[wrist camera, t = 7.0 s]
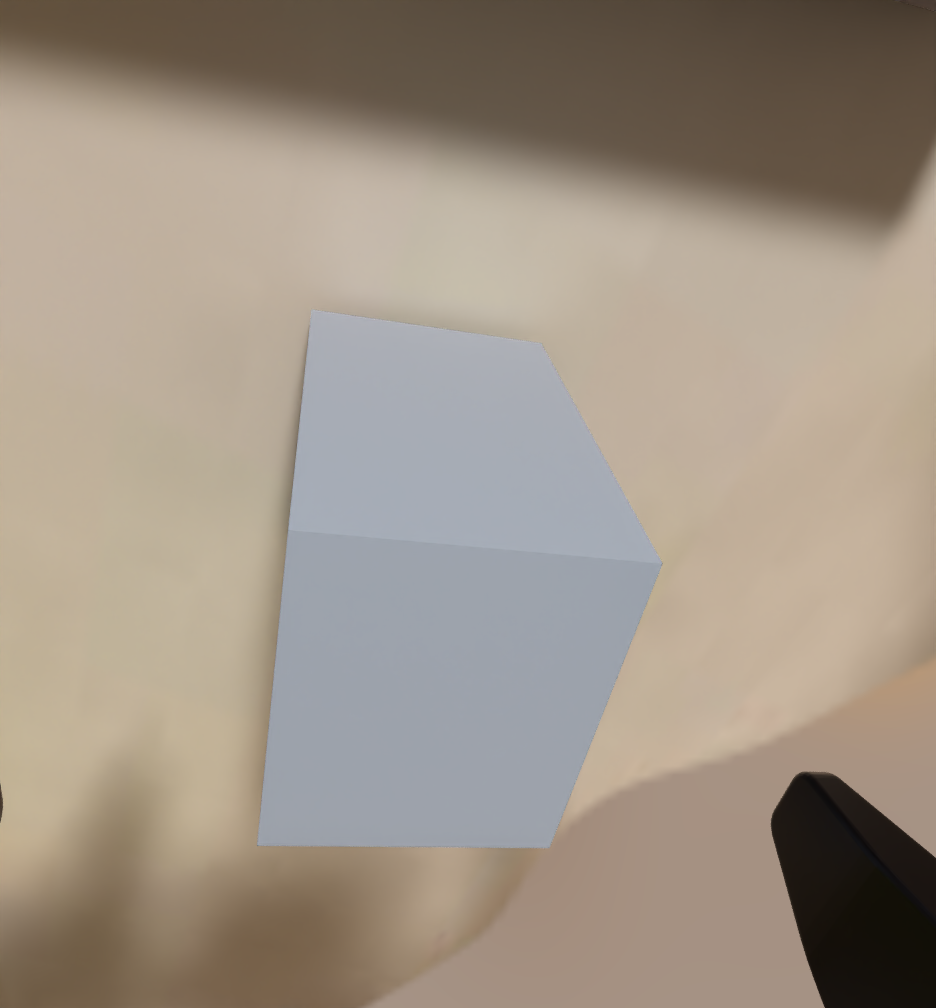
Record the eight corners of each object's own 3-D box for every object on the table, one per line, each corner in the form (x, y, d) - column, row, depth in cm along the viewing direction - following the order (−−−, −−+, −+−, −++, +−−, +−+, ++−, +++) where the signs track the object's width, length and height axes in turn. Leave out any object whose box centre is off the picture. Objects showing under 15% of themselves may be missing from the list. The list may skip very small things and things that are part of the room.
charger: (541, 343, 14) (662, 563, 9) (481, 574, 17) (547, 854, 11) (311, 309, 13) (288, 529, 8) (286, 558, 16) (255, 853, 11)
